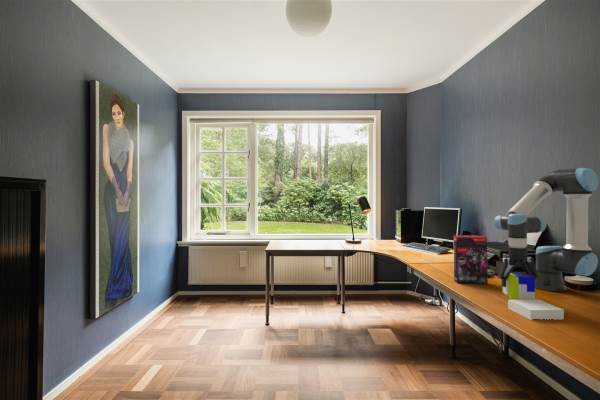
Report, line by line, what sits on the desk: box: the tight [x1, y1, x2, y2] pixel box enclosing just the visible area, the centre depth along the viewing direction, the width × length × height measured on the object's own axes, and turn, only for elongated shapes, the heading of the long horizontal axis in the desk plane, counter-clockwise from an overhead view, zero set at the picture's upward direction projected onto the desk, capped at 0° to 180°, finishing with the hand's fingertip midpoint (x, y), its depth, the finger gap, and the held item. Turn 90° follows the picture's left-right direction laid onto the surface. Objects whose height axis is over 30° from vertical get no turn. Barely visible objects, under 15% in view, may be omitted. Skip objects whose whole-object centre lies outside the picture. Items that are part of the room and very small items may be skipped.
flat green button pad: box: [487, 268, 495, 277], centre depth 221 cm, size 18×18×5 cm
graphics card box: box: [453, 235, 489, 285], centre depth 198 cm, size 17×7×27 cm, turn 83°
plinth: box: [507, 298, 565, 321], centre depth 145 cm, size 14×14×4 cm
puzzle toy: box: [501, 271, 536, 300], centre depth 160 cm, size 10×10×10 cm
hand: (518, 293), depth 160 cm, fingers closed on puzzle toy, 11 cm apart
